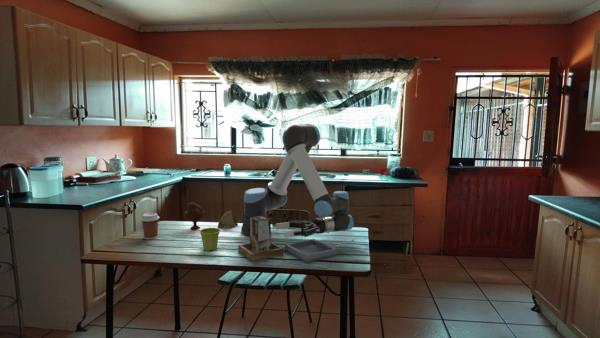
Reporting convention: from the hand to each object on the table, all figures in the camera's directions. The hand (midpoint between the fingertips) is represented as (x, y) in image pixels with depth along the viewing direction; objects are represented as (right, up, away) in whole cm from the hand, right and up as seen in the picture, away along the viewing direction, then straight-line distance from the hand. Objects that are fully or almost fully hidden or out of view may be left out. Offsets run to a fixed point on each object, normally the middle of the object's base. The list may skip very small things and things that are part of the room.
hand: (281, 230), depth 165 cm
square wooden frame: (-9, -10, -3) cm, 14 cm away
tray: (+13, -10, -2) cm, 17 cm away
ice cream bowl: (-50, -5, +36) cm, 62 cm away
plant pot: (-33, -9, +3) cm, 35 cm away
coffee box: (-9, -10, -3) cm, 14 cm away
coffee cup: (-68, -7, +20) cm, 71 cm away
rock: (-33, -5, +41) cm, 53 cm away
